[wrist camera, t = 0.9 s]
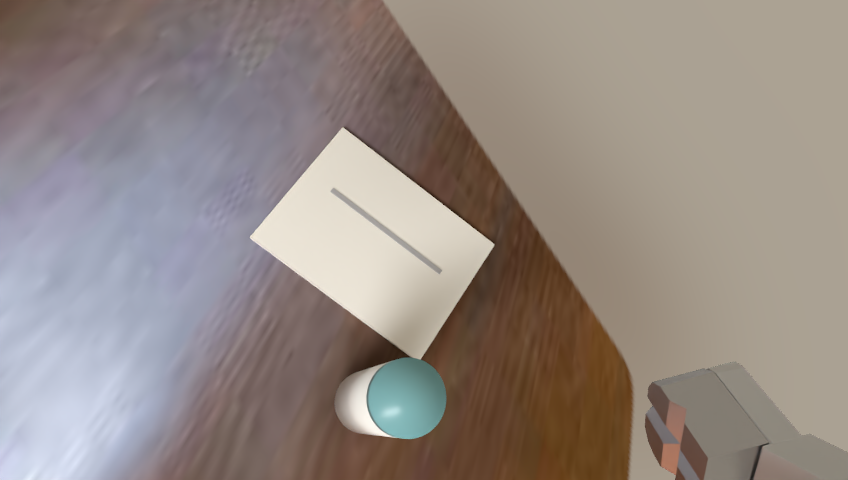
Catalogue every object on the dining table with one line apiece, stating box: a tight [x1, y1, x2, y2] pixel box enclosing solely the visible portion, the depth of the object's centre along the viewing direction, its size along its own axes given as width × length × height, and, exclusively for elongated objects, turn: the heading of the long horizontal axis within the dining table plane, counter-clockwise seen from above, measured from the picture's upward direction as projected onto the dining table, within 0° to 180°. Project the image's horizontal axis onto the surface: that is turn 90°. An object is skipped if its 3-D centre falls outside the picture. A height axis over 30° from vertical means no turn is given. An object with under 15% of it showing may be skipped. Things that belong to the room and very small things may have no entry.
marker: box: [335, 358, 446, 439], centre depth 41 cm, size 4×4×13 cm
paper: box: [250, 128, 495, 360], centre depth 51 cm, size 16×12×1 cm
